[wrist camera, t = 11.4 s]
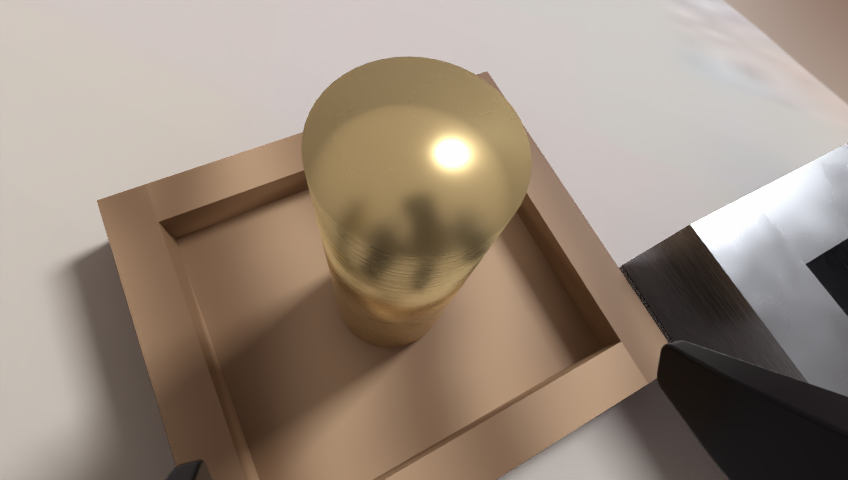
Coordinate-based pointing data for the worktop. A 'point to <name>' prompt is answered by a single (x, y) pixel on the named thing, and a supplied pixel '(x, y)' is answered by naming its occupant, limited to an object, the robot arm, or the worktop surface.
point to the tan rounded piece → (410, 188)
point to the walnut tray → (354, 358)
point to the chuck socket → (763, 276)
